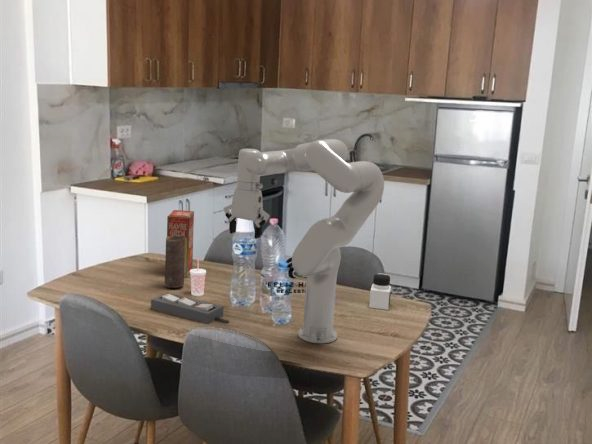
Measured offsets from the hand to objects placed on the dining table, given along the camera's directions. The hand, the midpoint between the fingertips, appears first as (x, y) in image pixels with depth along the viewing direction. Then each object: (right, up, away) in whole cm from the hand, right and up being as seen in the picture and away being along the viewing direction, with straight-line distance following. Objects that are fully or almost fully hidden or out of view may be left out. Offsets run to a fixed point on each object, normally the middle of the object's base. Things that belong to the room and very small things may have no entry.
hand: (244, 235), depth 220 cm
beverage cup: (-19, -23, +22) cm, 37 cm away
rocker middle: (-20, -23, +1) cm, 31 cm away
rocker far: (-26, -22, +4) cm, 35 cm away
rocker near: (-14, -24, -2) cm, 28 cm away
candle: (-29, -21, +28) cm, 45 cm away
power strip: (-18, -27, +1) cm, 32 cm away
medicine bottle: (+48, -27, +19) cm, 58 cm away
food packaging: (-31, -17, +46) cm, 58 cm away
